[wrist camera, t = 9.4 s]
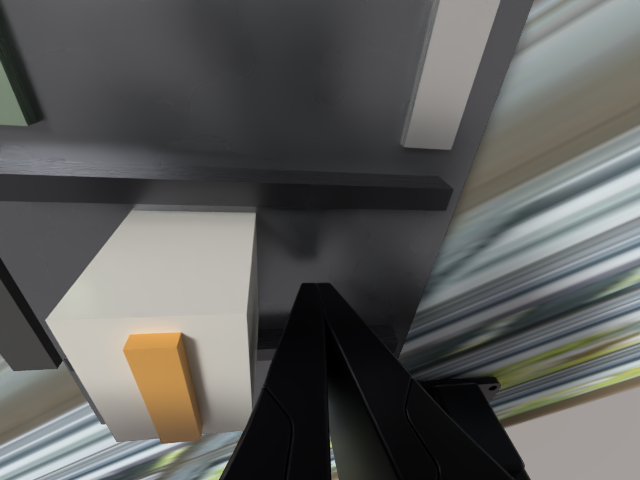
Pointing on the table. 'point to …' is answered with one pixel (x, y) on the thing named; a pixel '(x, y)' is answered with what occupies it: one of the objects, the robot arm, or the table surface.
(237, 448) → the robot arm
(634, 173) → the table surface
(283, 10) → the panel
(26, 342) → the dark grey bar
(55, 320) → the breaker lever
